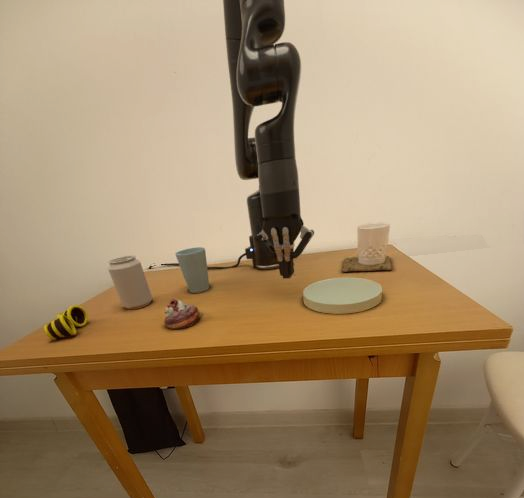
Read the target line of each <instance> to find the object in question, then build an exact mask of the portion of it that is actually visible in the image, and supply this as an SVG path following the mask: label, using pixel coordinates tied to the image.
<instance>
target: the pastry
mask: <svg viewBox="0 0 524 498" xmlns="http://www.w3.org/2000/svg"><path fill="white" fill-rule="evenodd" d="M164 314H165V318H164V325H165V327H166V328H168V329H171V330H173V329H174V330H175V329H177V330H178V329H184V328H188V327H191V326H192V325H194V324H195V323H197V321H198V320H199V319H200V317H201V313H200V311H199V309H198V307H197V306H195V305H194V304H185V302H184V301H182V300H177V299H176V298H171V299H170V301H169V303H168V304H167V306H166V308H165V312H164Z"/></svg>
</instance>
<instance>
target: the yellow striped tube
mask: <svg viewBox="0 0 524 498" xmlns="http://www.w3.org/2000/svg"><path fill="white" fill-rule="evenodd" d="M88 321H89V315H88V313H87V310H86V309H85V308H84V307H82V306H81V305H78V304H77V305H76V304H73V305H70V306H69V307H68V308H67V309H65V310H64V311H63V312H61V313H58V314H57V316H56V318H55V319H53V320H52V321H51V322H49V323H48V324H45V325H44V326H43V330H44V333H45V334H46V336H47V337H48V338H49V339H51V340H53V341H55V340H58V339H60V338H67V337H68V336H76V335H77V329H76V327H78V328H80V327H81V328H82V327H84V326H85V325H87V323H88Z"/></svg>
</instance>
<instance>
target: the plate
mask: <svg viewBox="0 0 524 498" xmlns="http://www.w3.org/2000/svg"><path fill="white" fill-rule="evenodd" d="M382 299H383V287H382V285H381V284H380V283H379V282H377V281H375V280H372V279H369V278H362V277H352V276H351V277H350V276H344V277H343V276H341V277H332V278H326V279H322V280H318V281H315V282H312V283H310V284H308V285H307V286H306V287H305V288H303V290H302V301H303V303H304V306H305V307H306V308H308V309H310V310H312V311H315V312H318V313H323V314H332V315H343V314H344V315H347V314H355V313H360V312H364V311H368V310H370V309H373V308H374V307H377V306H378V305H379V304H380V303H381V302H382Z"/></svg>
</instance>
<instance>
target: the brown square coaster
mask: <svg viewBox="0 0 524 498" xmlns="http://www.w3.org/2000/svg"><path fill="white" fill-rule="evenodd" d="M391 263H392V262H391V260H390V257H389V255H385V261H384V262H383V263H380V264H373V265H364V264H360V263H359V262H358V256H352V257H346V258H344V261H343V266H342V273H347V272H372V271H392V270H393V269H392V264H391Z"/></svg>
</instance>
